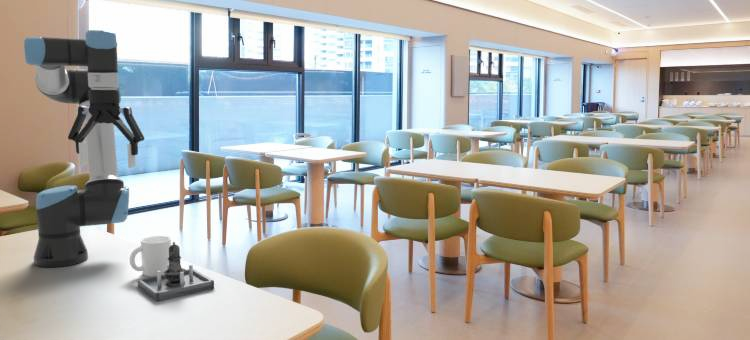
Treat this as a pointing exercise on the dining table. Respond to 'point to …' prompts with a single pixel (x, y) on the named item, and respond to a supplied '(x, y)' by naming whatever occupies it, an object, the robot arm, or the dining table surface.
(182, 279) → the tray
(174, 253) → the dark grey tall piece
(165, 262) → the mug
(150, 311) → the dining table surface
